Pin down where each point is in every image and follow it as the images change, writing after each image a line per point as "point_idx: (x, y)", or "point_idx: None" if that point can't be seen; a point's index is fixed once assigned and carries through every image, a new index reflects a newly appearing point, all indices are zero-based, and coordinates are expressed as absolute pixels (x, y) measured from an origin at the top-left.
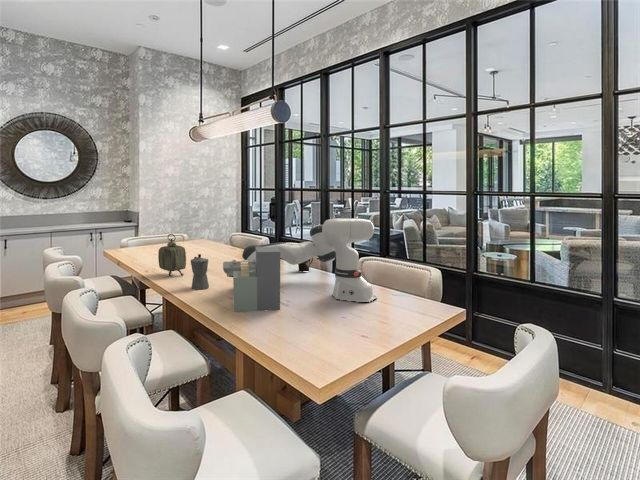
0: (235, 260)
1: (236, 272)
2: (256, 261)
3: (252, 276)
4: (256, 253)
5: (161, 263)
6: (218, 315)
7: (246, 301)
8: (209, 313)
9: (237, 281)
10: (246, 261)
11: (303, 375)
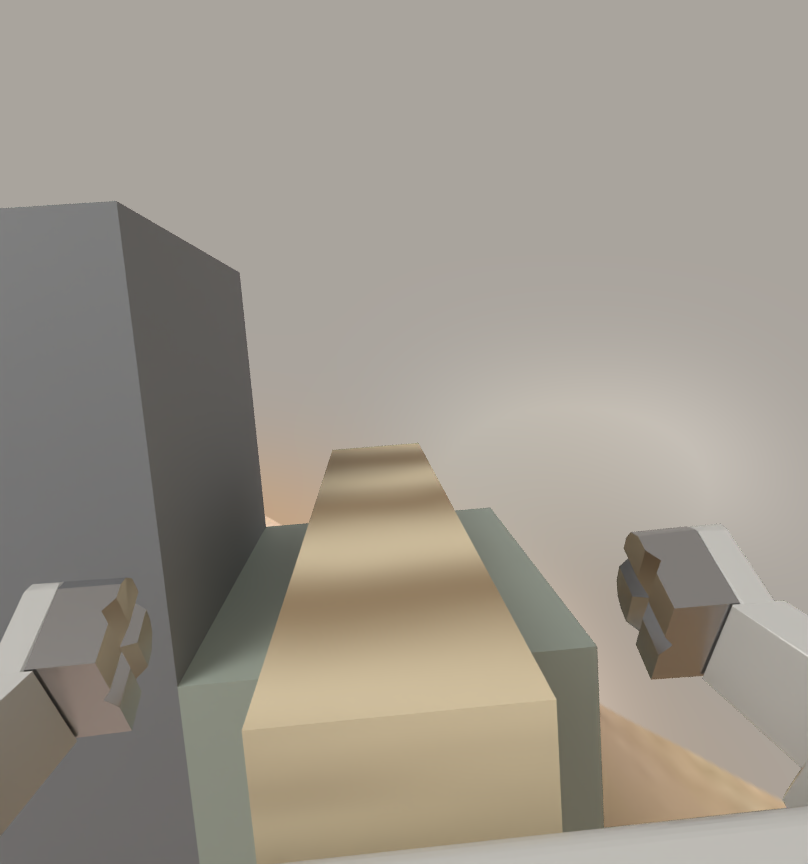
0: (634, 539)
1: (515, 600)
2: (226, 403)
3: (304, 535)
4: (217, 298)
5: None
6: (607, 754)
7: None
8: (708, 786)
9: None
10: (330, 601)
11: (266, 518)
